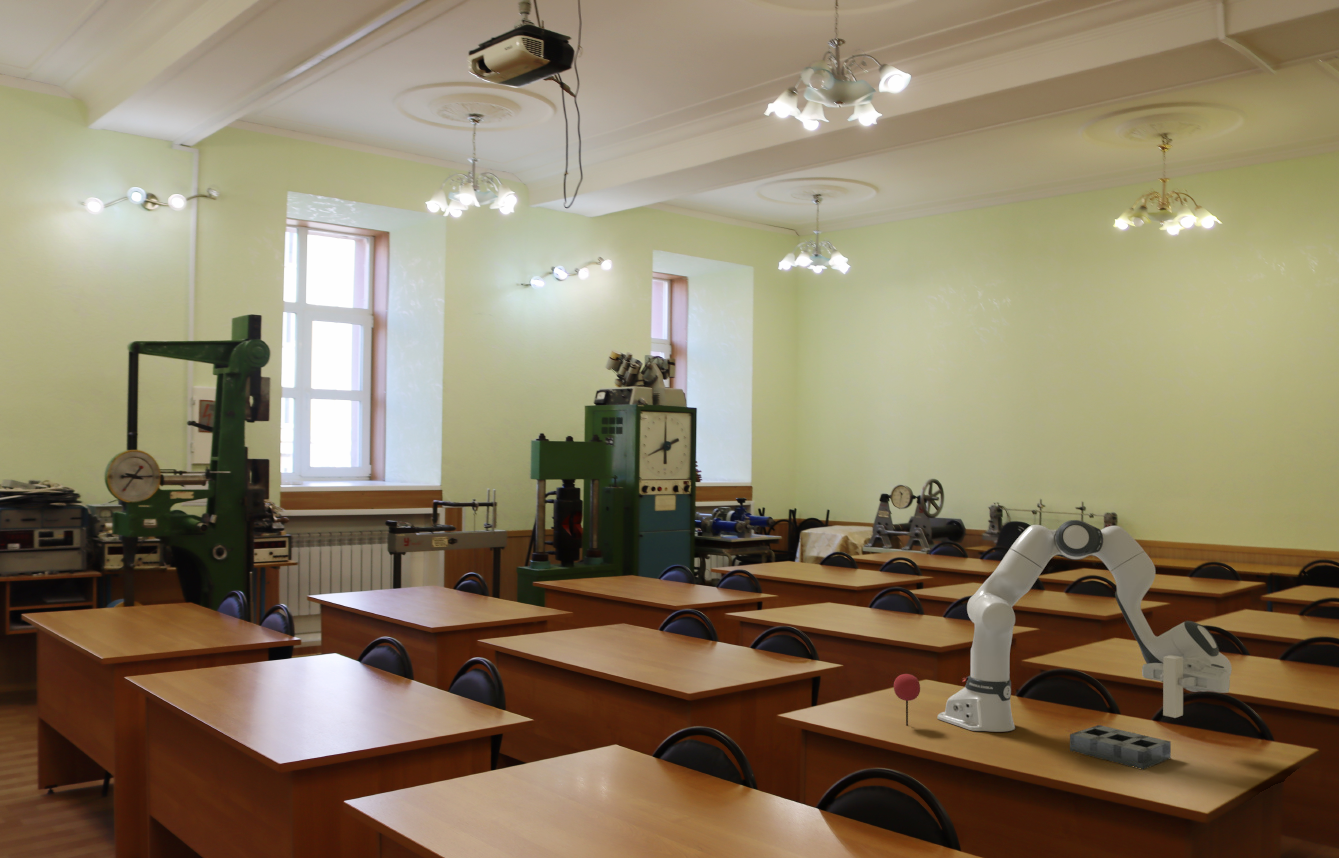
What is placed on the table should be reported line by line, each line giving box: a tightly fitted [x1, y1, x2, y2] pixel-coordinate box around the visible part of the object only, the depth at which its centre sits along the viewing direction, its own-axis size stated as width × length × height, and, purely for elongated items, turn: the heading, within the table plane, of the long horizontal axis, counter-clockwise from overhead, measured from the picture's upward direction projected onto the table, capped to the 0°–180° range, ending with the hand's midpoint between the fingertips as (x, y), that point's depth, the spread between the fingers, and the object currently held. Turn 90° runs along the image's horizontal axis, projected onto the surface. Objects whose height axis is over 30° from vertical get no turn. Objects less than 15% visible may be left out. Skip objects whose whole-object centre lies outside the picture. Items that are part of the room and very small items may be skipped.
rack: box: [1069, 724, 1172, 770], centre depth 256 cm, size 16×20×4 cm
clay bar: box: [1162, 655, 1184, 719], centre depth 246 cm, size 4×3×15 cm, turn 129°
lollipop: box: [893, 673, 921, 726], centre depth 281 cm, size 8×8×15 cm
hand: (1171, 680), depth 245 cm, fingers closed on clay bar, 3 cm apart
